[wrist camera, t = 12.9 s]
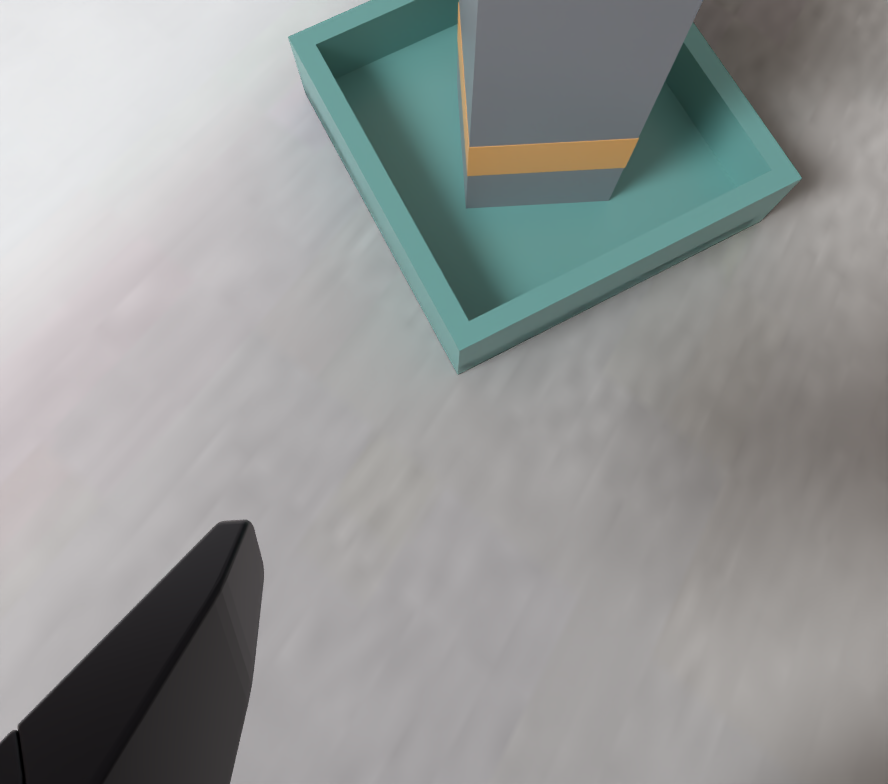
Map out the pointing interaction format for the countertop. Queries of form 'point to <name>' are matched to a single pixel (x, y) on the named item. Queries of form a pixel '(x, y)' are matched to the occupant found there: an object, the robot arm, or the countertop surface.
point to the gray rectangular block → (559, 93)
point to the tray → (528, 226)
